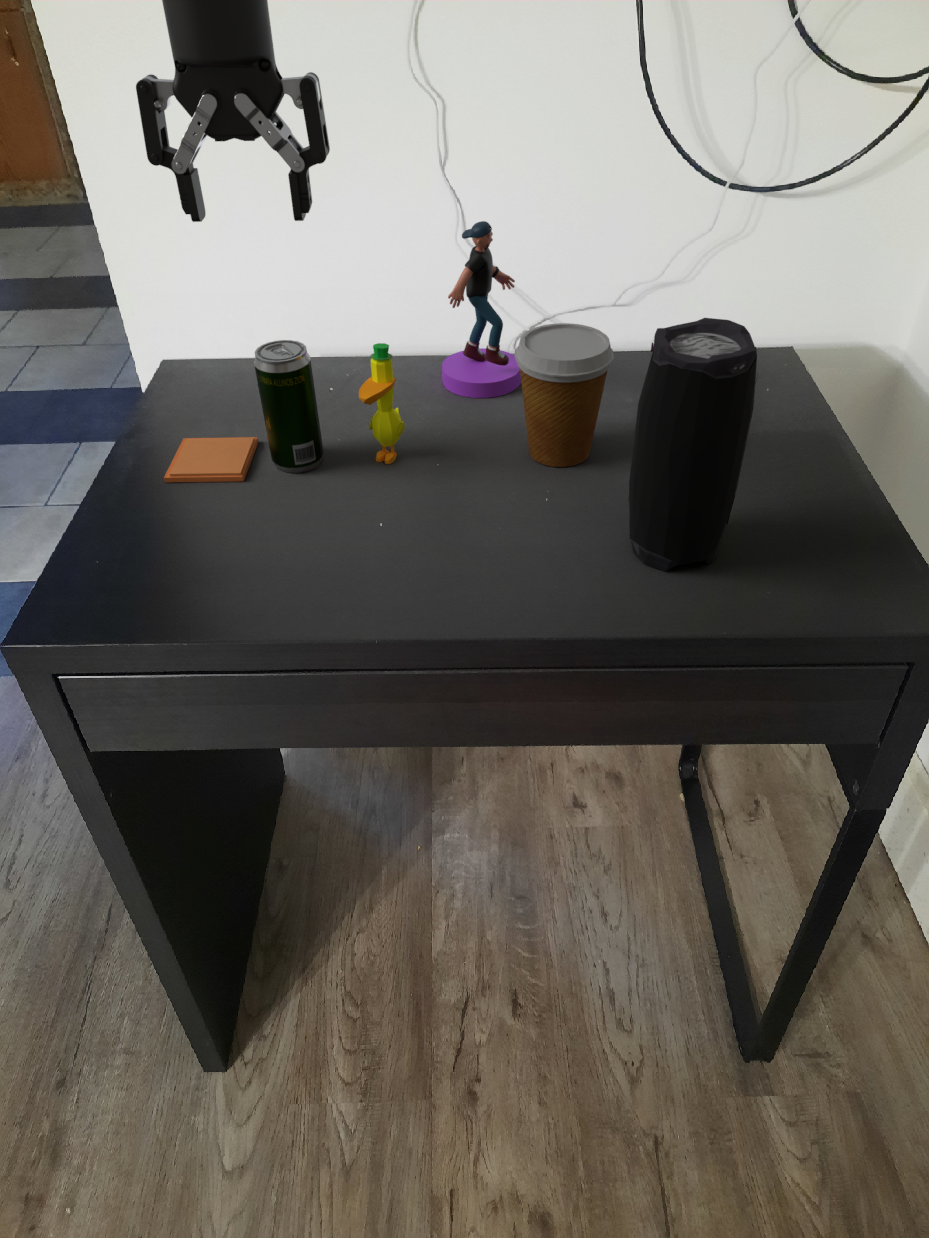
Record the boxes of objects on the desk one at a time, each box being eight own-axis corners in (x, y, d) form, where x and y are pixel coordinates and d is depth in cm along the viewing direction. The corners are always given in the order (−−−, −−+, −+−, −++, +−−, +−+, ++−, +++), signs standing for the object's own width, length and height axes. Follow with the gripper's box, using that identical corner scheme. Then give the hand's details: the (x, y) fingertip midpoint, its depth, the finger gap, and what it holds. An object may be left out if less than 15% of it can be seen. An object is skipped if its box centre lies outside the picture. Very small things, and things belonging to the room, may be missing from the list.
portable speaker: (605, 556, 80) (625, 344, 67) (654, 508, 85) (682, 304, 73) (694, 591, 76) (734, 372, 63) (740, 538, 81) (785, 327, 69)
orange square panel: (165, 482, 91) (162, 475, 90) (184, 443, 97) (182, 435, 96) (243, 481, 91) (242, 474, 90) (258, 442, 97) (257, 434, 96)
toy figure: (385, 478, 90) (375, 366, 83) (354, 471, 92) (341, 360, 84) (415, 447, 95) (408, 337, 87) (385, 441, 96) (376, 332, 88)
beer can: (334, 462, 93) (319, 351, 85) (289, 480, 91) (270, 368, 83) (307, 442, 96) (290, 334, 89) (262, 459, 94) (241, 349, 86)
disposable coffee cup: (620, 466, 91) (632, 353, 83) (532, 483, 89) (536, 369, 81) (583, 423, 98) (590, 315, 90) (500, 438, 96) (500, 329, 88)
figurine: (512, 401, 102) (515, 237, 91) (433, 394, 104) (425, 232, 93) (527, 366, 109) (531, 209, 98) (453, 360, 111) (448, 205, 99)
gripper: (98, -9, 62) (153, 234, 73) (303, -13, 62) (329, 232, 73) (129, -20, 68) (177, 207, 79) (317, -23, 68) (339, 205, 78)
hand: (250, 219), depth 76 cm, fingers open, 8 cm apart
